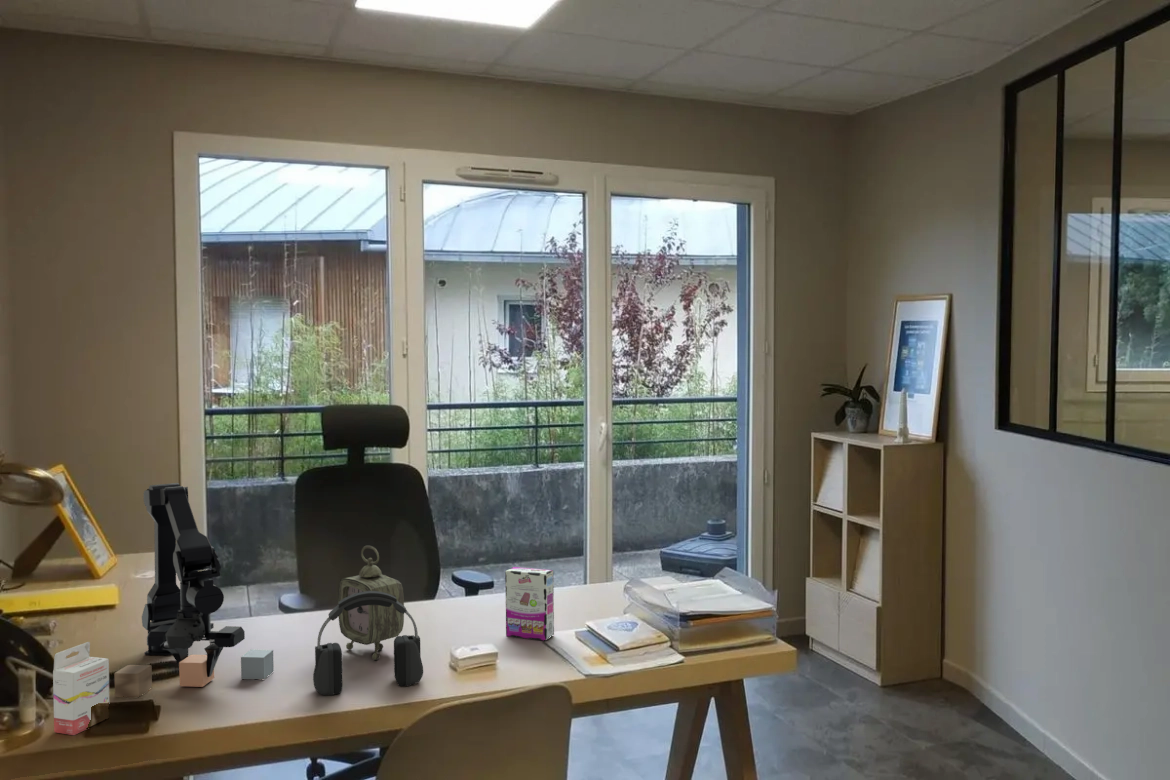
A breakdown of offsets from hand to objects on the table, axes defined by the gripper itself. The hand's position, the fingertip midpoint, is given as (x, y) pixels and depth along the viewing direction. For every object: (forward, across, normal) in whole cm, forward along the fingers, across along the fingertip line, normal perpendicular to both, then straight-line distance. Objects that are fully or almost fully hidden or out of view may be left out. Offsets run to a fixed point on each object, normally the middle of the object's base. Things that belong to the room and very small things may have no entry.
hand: (197, 676), depth 193 cm
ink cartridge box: (+2, -11, -22) cm, 25 cm away
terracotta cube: (+1, 0, 0) cm, 1 cm away
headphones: (+2, +37, +1) cm, 37 cm away
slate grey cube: (+2, +11, +6) cm, 12 cm away
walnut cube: (+2, -11, -6) cm, 12 cm away
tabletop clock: (+2, +31, +22) cm, 38 cm away
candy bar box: (+2, +66, +36) cm, 75 cm away
